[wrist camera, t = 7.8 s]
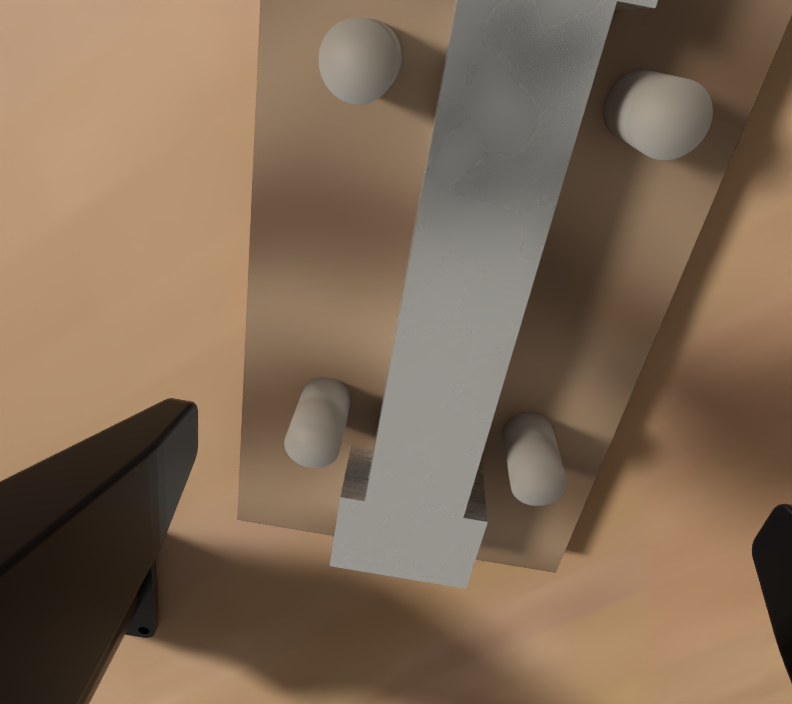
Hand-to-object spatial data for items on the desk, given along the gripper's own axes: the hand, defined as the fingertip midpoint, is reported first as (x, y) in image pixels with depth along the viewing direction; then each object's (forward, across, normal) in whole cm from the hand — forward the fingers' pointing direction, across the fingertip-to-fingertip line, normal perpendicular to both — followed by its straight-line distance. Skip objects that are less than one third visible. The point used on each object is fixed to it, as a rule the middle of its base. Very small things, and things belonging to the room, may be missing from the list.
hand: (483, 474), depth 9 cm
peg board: (+10, 0, 0) cm, 10 cm away
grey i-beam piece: (+9, 0, 0) cm, 9 cm away
